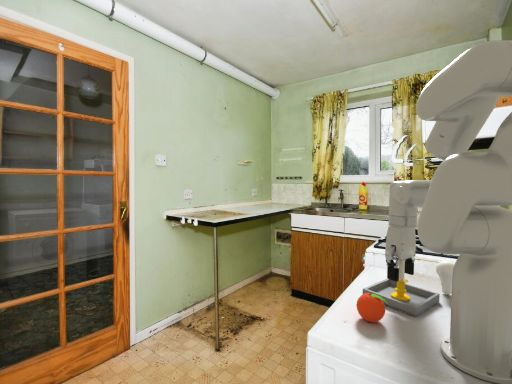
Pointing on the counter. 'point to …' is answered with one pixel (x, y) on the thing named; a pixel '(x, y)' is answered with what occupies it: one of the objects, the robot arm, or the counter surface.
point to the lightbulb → (445, 275)
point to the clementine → (371, 307)
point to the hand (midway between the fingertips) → (400, 276)
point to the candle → (401, 284)
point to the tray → (418, 296)
